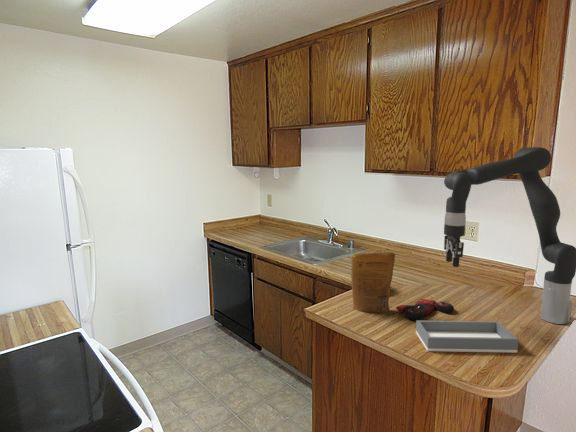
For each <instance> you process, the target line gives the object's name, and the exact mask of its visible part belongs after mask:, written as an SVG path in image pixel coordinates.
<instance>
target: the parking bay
mask: <svg viewBox="0 0 576 432" xmlns="http://www.w3.org/2000/svg"><path fill="white" fill-rule="evenodd" d="M415 322H416V324H415V334H416V335H417V337H418V338H419V340H420V342H421V343H422V344H423V346H424V348H425V349H426V351H427V352H451V353H452V352H453V353H454V352H459V353H461V352H462V353H463V352H465V353H510V354H511V353H516V354H517V353H518V350H519V347H518V346H519V339H518V338H517V336H516V335H514V334H513V333H512V332H511V331H510V330H509V329H507V328H506V327H505V326H504V325H503V324H501V323H500V322H499V321H495V320H494V321H490V320H489V321H488V320H486V321H484V320H482V321H480V320H479V321H477V320H471V321H470V320H415Z"/></svg>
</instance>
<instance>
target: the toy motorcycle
mask: <svg viewBox="0 0 576 432" xmlns="http://www.w3.org/2000/svg"><path fill="white" fill-rule="evenodd" d="M395 309H396V310H397V311H398V312H400V313H401V312H403V311H404V315H405V317H406V318H407V319H409V320H411V321H416V320H419V321H423V320H425V316H427V315H430V314H431V313H432V312H433V311H434V310H437V311H439V312H441V313H447V314H449V313H450V314H451V313H453V312H454V311H455V307H454V305H452V304H451V303H450V302H446V301H436V300H433V299H425V298H419V300H417V301H416V302H415V304H399V305H397V306H395Z"/></svg>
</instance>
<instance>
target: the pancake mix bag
mask: <svg viewBox="0 0 576 432" xmlns="http://www.w3.org/2000/svg"><path fill="white" fill-rule="evenodd" d="M395 261H396V253H395V252H389V251H388V252H371V253H370V252H369V253H354V255H351V260H350V264H351V266H350V278H351V281H350V282H351V291H352V302H353V305H352V306H353V307H352V310H355V311H358V312H361V313H370V314H371V313H375V314H377V313H378V314H386V313H387V312H390V304H389V302H390V296H391V285H392V282H393V281H392V280H393V275H394V267H395Z"/></svg>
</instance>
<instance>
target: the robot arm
mask: <svg viewBox="0 0 576 432" xmlns="http://www.w3.org/2000/svg"><path fill="white" fill-rule="evenodd" d="M551 161H552V154H551V152H550V150H549V149H547V148H545V147H540V146H533V147H529V146H527V147H521V148H520V149H518V150H517V151H516V152H515V153H514V157H513V158H508V159H503V160H497V161H492V162H487V163H484V164H480V165H477V166H474V167H472V168H465V169H461V170H457V171H453V172H450V173H448V174H447V175H446V176H445V177H444V181H443V183H444V186H445V187H446V188H447V189H449V190H451V191H452V193H451V196H450V197H447V199H446V201H445V202H446V204H445V205H446V206H445V215H444V221H443V222H444V225H443V235H444V240H443V241H444V242H443V243H444V244H443V250H444V251H445V262H448V263H452V267H453V268H458V267H460V258H463V256H464V247H465V243H464V242H462V241H461V237H464V236H465V234H466V221H467V220H466V219H467V218H466V217H467V216H466V210H467V201H468V198H469V195H470V192H471V188H472V186H475V185H476V186H478V185H481V184H485V183H490V182H492V181H495V180H498V179H503V178H505V177H509V176H512V175H513V176H514V175H517V174H518V175H519V177H520V180H521V182H522V185H523V188H524V190H525V193H526V197H527V199H528V203H529V208H530V210H531V214H532V217H533V219H534V223H535V226H536V230H537V233H538V238H539V242H540V249H541V254H542V257H543V258H544V259H545V260H546V261H547V262H549V263H550V264H554V266H553V267H554V268H553V270H548V271H546V272H545V273H544V276H543V277H544V278H543V288H542V298H541V299H542V300H541V307H540V316H539V317H540V318H541V320H543V321H545V322H548V323H551V324H557V325H565V324H567V323H570V322H571V317H572V306H573V300H572V299H571V295H572V294H571V293H572V284H573V280H574V277H575V275H576V247H575V246H574V245H571V244H568V243H565V242H561V241H560V238H559V235H558V231H557V226H558V223H559V220H560V218H561V209H560V204H559V201H558V199H557V197H556V195H555V194H554V192H553V191H552V190H551V189H550V187H549V186H548V185H547V184H546V183H545V181H544V180H543V178H542V177H541V174H540V172H539V171H542V170H544V169H545V168H547V167H548V166H549V165H550V163H551Z"/></svg>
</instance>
